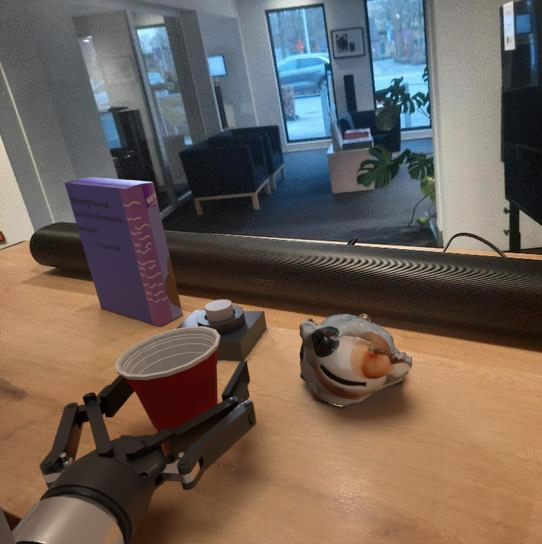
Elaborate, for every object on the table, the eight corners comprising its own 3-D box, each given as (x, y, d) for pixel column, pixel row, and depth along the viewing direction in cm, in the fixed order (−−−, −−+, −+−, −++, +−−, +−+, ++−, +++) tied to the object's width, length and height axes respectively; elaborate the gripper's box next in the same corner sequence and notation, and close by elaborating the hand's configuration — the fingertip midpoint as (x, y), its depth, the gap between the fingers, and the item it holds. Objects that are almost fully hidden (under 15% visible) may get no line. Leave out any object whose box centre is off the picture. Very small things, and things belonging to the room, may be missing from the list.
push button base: (167, 358, 74) (160, 329, 72) (199, 326, 83) (193, 299, 81) (243, 361, 72) (237, 331, 70) (267, 328, 81) (262, 300, 79)
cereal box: (183, 315, 87) (152, 180, 78) (160, 327, 84) (125, 187, 75) (124, 298, 96) (91, 175, 87) (101, 308, 93) (64, 181, 84)
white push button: (202, 322, 74) (200, 310, 73) (214, 310, 78) (211, 299, 77) (227, 323, 73) (225, 310, 73) (238, 311, 77) (236, 299, 76)
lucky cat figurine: (419, 362, 68) (435, 302, 58) (387, 440, 61) (399, 388, 50) (321, 323, 71) (319, 260, 61) (280, 393, 64) (270, 335, 54)
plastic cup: (189, 399, 64) (169, 316, 59) (256, 418, 59) (240, 330, 55) (118, 454, 55) (89, 362, 51) (190, 483, 50) (165, 383, 46)
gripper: (-49, 559, 41) (99, 399, 60) (243, 565, 38) (297, 397, 58) (-86, 489, 38) (82, 345, 57) (227, 491, 35) (289, 341, 55)
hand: (190, 371), depth 58 cm, fingers open, 12 cm apart
